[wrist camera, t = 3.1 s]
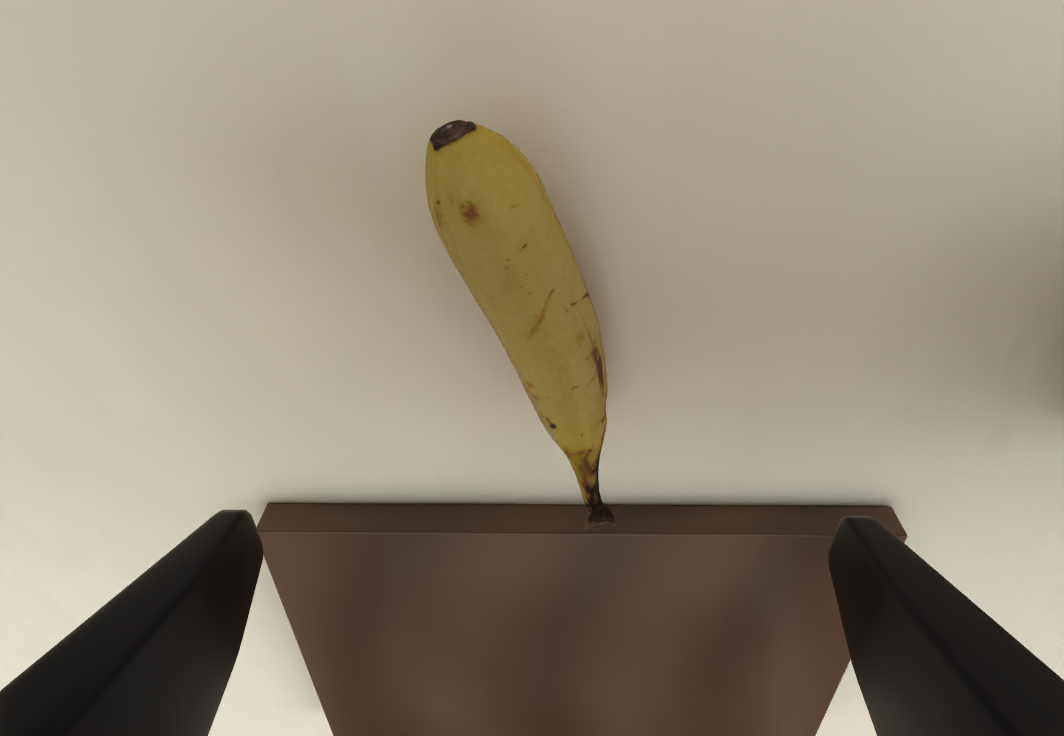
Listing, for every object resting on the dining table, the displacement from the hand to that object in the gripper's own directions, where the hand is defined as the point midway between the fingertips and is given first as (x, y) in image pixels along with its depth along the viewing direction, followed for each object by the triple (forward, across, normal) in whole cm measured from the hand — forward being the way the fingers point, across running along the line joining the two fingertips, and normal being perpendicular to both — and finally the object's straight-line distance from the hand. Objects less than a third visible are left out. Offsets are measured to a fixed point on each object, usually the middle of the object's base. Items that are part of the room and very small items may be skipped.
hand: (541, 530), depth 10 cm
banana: (+8, 0, 0) cm, 8 cm away
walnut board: (+8, -1, +14) cm, 17 cm away
